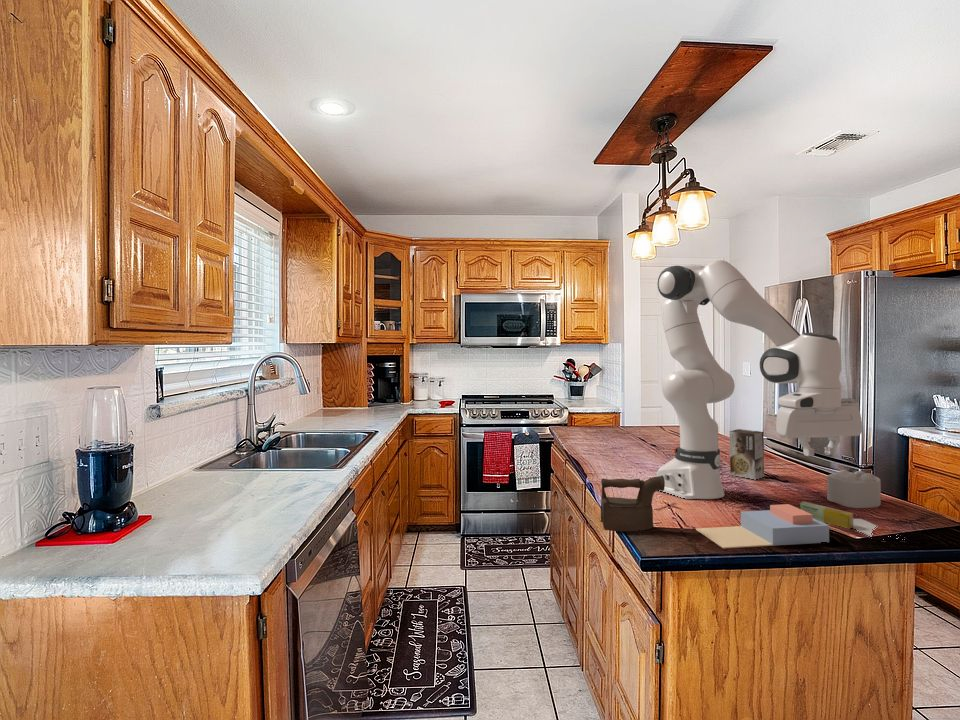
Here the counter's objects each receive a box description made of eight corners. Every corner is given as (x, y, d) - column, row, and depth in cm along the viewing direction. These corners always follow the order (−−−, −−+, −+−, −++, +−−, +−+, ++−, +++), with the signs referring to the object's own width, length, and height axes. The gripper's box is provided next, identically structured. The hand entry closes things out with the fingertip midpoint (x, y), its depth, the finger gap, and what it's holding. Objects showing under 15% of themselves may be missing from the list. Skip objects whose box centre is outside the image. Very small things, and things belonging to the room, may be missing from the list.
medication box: (797, 517, 135) (797, 502, 134) (803, 515, 136) (802, 500, 136) (849, 530, 124) (849, 514, 124) (854, 528, 126) (854, 512, 126)
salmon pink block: (788, 512, 126) (788, 504, 126) (812, 522, 118) (812, 514, 118) (770, 512, 126) (770, 505, 126) (792, 524, 118) (792, 515, 118)
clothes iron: (666, 534, 124) (666, 480, 123) (600, 530, 127) (600, 478, 126) (661, 522, 132) (661, 472, 131) (599, 519, 135) (599, 470, 134)
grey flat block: (792, 524, 128) (792, 509, 128) (829, 542, 117) (829, 525, 116) (740, 527, 127) (740, 511, 127) (772, 545, 115) (772, 528, 115)
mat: (740, 527, 127) (740, 526, 127) (772, 545, 115) (772, 544, 115) (695, 529, 126) (695, 528, 126) (723, 548, 114) (723, 547, 114)
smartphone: (861, 518, 132) (909, 539, 117) (861, 520, 132) (909, 542, 117) (833, 518, 132) (877, 539, 117) (833, 520, 132) (877, 542, 117)
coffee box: (764, 477, 174) (764, 431, 173) (755, 480, 170) (755, 433, 170) (738, 472, 181) (738, 428, 181) (729, 475, 178) (728, 430, 177)
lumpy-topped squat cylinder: (821, 498, 150) (821, 469, 150) (859, 495, 152) (859, 467, 152) (852, 509, 140) (852, 478, 140) (892, 505, 142) (892, 475, 142)
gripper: (847, 396, 126) (847, 450, 126) (771, 398, 124) (772, 453, 124) (869, 398, 120) (869, 456, 120) (790, 401, 118) (790, 459, 118)
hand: (819, 455), depth 122 cm, fingers open, 4 cm apart
